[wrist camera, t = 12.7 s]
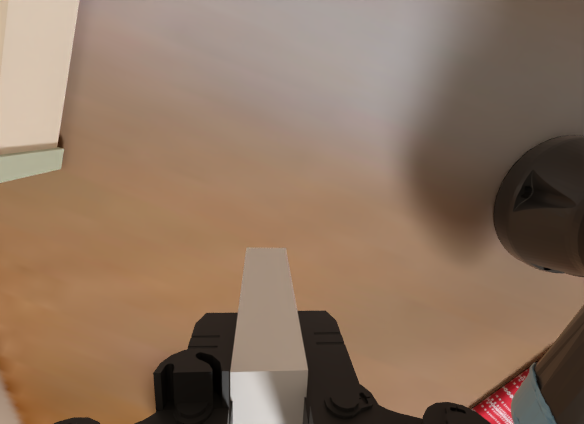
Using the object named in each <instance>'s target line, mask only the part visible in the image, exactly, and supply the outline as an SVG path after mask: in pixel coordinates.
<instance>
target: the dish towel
mask: <svg viewBox="0 0 584 424" xmlns="http://www.w3.org/2000/svg"><path fill="white" fill-rule="evenodd" d="M529 369H530V368H528V369H527V370H525V371H524V372H522V373H521V374H519V375H518V376H517V377H515V378H514V379H513V380H511V381H510V382H509V383H507V384H506V385H504V386H503V387H502V388H500V389H499V390H497V391H496V392H494V393H493V394H492V395H490V396H489V397H487V398H486V399H485V400H484V401H482V402H481V403H479V404H478V405H477V406H475V407H474V408H472V409H471V410H473V411H475V412H477V413H478V414H480V415H481V416H482V417H484V418H485V419H486V420H487V421H489V422H490V423H491V424H514V423H513V419H512V415H511V402H512V398H513V396H514V395H515V393H516V392H517V390H518V389H519V387H520V386H521V384H522V383H523V381H524V380H525V378H526V377H527V376H528V374H529Z"/></svg>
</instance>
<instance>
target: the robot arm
mask: <svg viewBox="0 0 584 424" xmlns="http://www.w3.org/2000/svg"><path fill="white" fill-rule="evenodd" d="M494 222H495V228H496V232H497V235H498V237H499V240H500V242H501V243H502V245H503V246H504V248H505V249H506V250H507V251H508V252H509V253H510V254H511V255H512V256H514V257H515V258H517V259H518V260H520V261H522V262H524V263H526V264H528V265H530V266H532V267H534V268H536V269H539V270H542V271H546V272H552V273H566V274H569V275H573V276H579V277H584V136H576V135H570V136H562V137H557V138H554V139H550V140H548V141H545V142H543V143H541V144H539V145H538V146H536V147H534V148H533V149H531V150H530V151H529V152H527V153H526V154H525V155H524V156H522V157H521V158H520V159H519V160H518V161H517V162H516V164H515V165H514V166H513V167H512V168H511V170H510V171H509V172H508V174H507V176H506V177H505V179H504V181H503V183H502V185H501V187H500V189H499V192H498V195H497V198H496V203H495V210H494ZM153 375H154V388H155V401H156V413H155V414H153V415H151V416H150V417H148V418H146V419H145V420H143V421H140V422H138V423H135V424H491V423H490V422H489V421H487V420H486V419H485V418H484V417H482V416H481V415H480V414H478V413H477V412H475V411H473V410H471V409H469V408H467V407H465V406H463V405H459V404H454V403H450V402H442V403H435V404H433V405H431V406H430V407H428V408H427V409H426V411H425V413H424V415H423V419H421V418H417V417H413V416H408V415H404V414H400V413H396V412H394V411H391V410H388V409H385V408H384V407H382V406H380V405H378V403H377V401H376V400H375V398H374V397H373V395H372V394H371V392H369V391H368V390H367V389H366V388H364V387H363V386H362V385H360V384H359V381H358V379H357V376H356V373H355V371H354V368H353V365H352V362H351V360H350V357H349V354H348V352H347V349H346V346H345V345H344V341H343V338H342V335H341V334H340V330H339V327H338V324H337V322H336V320H335V319H334V318H333V317H332V316H331V315H330V314H329V313H328V312H326V311H297V306H296V301H295V295H294V290H293V284H292V279H291V273H290V268H289V263H288V257H287V252H286V248H246V256H245V263H244V271H243V279H242V286H241V294H240V301H239V309H238V313H206V314H205V315H204V316H203V317H202V318H201V319H200V320H199V321H198V322H197V323H196V324H195V327H194V330H193V333H192V338H191V339H190V342H189V345H188V349H187V350H184V351H181V352H178V353H176V354H173V355H171V356H170V357H168V358H167V359H166V360H164V361H163V362H161V363H160V365H159V366H158V367H157V369H156V370H155V372H154V373H153ZM511 415H512V419H513V423H514V424H584V305H583V306H582V308H581V309H580V310H579V312H578V313H577V314H576V315H575V317H574V318H573V319H572V321H571V322H570V323H569V324H568V326H567V327H566V328H565V330H564V331H563V332H562V333H561V335H560V336H559V337H558V338H557V340H556V341H555V342H554V343H553V345H552V346H551V347H550V348H549V349H548V351H547V352H546V353H545V354H544V356H543V357H542V358H541V359H540V360H539V362H536V363H535V362H534V363H533V364H532V365H531V366H530V369H529V374H528V376H527V377H526V378H525V380H524V381H523V383H522V384H521V386H520V387H519V389H518V390H517V392H516V393H515V395H514V396H513V398H512V402H511ZM54 424H100V423H99V422H98V421H95V420H93V419H91V418H70V419H67V420H63V421H59V422H56V423H54Z"/></svg>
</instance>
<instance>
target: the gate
mask: <svg viewBox="0 0 584 424" xmlns="http://www.w3.org/2000/svg"><path fill="white" fill-rule="evenodd" d="M78 7H79V0H0V183H2V182H6V181H11V180H15V179H19V178H24V177H28V176H32V175H37V174H41V173H46V172H50V171H54V170H59V169H61V165H62V159H63V153H64V149H63V148H60V147H57V145H58V139H59V132H60V125H61V119H62V112H63V106H64V99H65V93H66V86H67V79H68V73H69V66H70V60H71V53H72V46H73V40H74V33H75V27H76V20H77V13H78Z"/></svg>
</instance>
